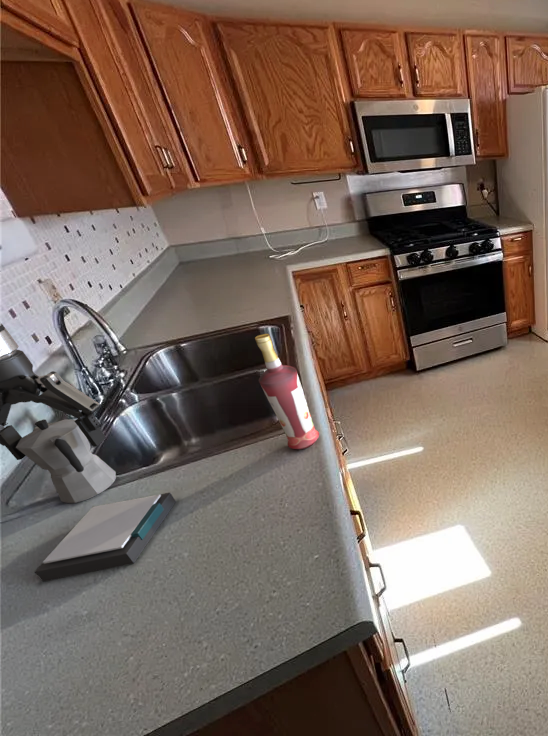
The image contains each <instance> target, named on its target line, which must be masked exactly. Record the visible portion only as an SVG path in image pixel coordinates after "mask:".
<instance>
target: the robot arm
mask: <svg viewBox="0 0 548 736" xmlns="http://www.w3.org/2000/svg"><path fill="white" fill-rule="evenodd" d="M18 348H19V345H18V343H17V342H16V340H15V339H14V338H13V336H12V335H11V334H10V332H9V330H7V327H5V325H4V324H3V323H2V322H1V321H0V445H1V446H2V447H5V448H6V449H7V450H8V452H9V453H10V454H11V455H12V456H13V457H14V458H15V460H16V461H21V460H23V459H24V458H26V457H27V456H26V455H25V454H23V453H22V452H21V451H20V450H18V449H17V448H16V446H17V444H18V443H19V441H20V439H21V438H22V437H23V436H21V434H20V433H19V432H18V431H17V429H16V428H15V427H14V426H13V425H12V424H10V425H8V424H9V422H7V421H8V417H9V414H10V411H11V408H12V405H16V404H17V405H18V404H19V403H30V402H32V403H36V404H43V405H45V406H47V407H50V408H52V409H55V410H57V411H59V412H62V413H64V414H67V415H69V416H71V417H74V418H75V419H74V420H75V423H76V424H77V425H78V427H79V428H80V430H81V431H82V432H83V434H84V435H85V436H86V438H87V439H88V442H89V444H90V445H91V446H92V447H93V448H95V447H99V445H101V444H102V443H103V442H104V441H105V440H106V439H107V437H106V435H105V433H104V432H103V430H102V429H101V428H100V426H101V423H100V422H99V420H98V419H97V417H96V416H95V415H94V413H95V412H97V411H98V410H99V409H100V408H101V407H102V404H100V403H99V402H97V401H96V400H94V399H93V398H91V397H90V396H89V395H87V394H86V393H84V392H82V391H81V390H79V389H78V388H76V387H75V386H73V385H71V384H70V383H68V382H67V381H65V380H64V379H63V378H62V376H61V375H60V374H59V373H58V372H57V371H54V370H51V371H49V372H48V373H47V374H44V375H37V373H35V372H34V369H33V367H34V365H33V363H32V362H31V360H30V359H29V358H28V356H27V354H26V353H25V352H24V351H23V350H21V349H18Z"/></svg>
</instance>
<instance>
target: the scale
mask: <svg viewBox="0 0 548 736" xmlns="http://www.w3.org/2000/svg"><path fill="white" fill-rule="evenodd" d="M176 502H177V501H176V499H175V498H174V496H173V494H172V493H171V492H165V493H160V494H155V495H149V496H144V497H138V498H133V499H128V500H121V501H115V502H110V503H106V504H105V503H104V504H100V505H96V506H94V505H93V506H92V507H90V509H89V510H88V511H87V512H86V513H85V514H84V516H83V517H82V518H81V519H80V520H79V521H78V522H77V523H76V525H75V526H74V527H72V529H71V530H70V531H69V532H68V533H67V534H66V535H65V537H64V538H62V540H61V541H60V542H59V543H58V544H57V546H55V548H54V549H53V550H52V551H51V552H50V553H49V554H48V555H47V557H45V558H44V560H43V561H42V562H41V564H40V565H39V566H38V567H37V568H36V569H35V570H34V571H33V572H34V574H35V575H36V576H37V577H38V578H39V579H40V580H41V581H42V582H48V581H52V580H58V579H63V578H68V577H72V576H79V575H82V574H88V573H93V572H97V571H102V570H107V569H113V568H118V567H122V566H127V565H133V564H135V563H136V561H137V559H138V558H139V557H140V555H141V554H142V552H143V551H144V550H145V548H146V547H147V545H148V543H150V541H151V539H152V538H153V536H154V535H155V533H156V532H157V530H158V529H159V527H160V526H161V524H162V523H163V522H164V520H165V519H166V517H167V516H168V514H169V513H170V511H171V510H172V509H173V507H174V506H175V504H176Z"/></svg>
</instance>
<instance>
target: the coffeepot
mask: <svg viewBox="0 0 548 736" xmlns="http://www.w3.org/2000/svg"><path fill="white" fill-rule="evenodd" d="M75 420H76V419H67V418H65V419H62V420H59V421H55V422H47V419H39V420H38V421H36V422H34V426H36V427H34V428H33V429H32V431H31V432H30V433H28V434H26V435H24V436H21V437H22V438H21V439H20V441H19V443H18V444H17V446H16V448H17V449H18V450H20V451H21V452H22V453H23V454H25V455H26V456H25V457H27V458H28V459H29V460H31V461H32V463H34V464H35V465H37V466H38V467H39V468H41V469H42V470H44V471H48V472H49V473H50V479H51V481H52V484H53V485H54V486H53V487H54V489H55V491H56V492H57V496H58V497H59V499H60V502H61V503H67V504H75V503H81V502H84V501H86V500H90V499H93V498H94V497H95V496H98V495H100V494H101V493H103V492H104V491H106V490H107V489H108V488H109V487H111V486H112V485H113V484H114V482H115V481H116V478H117V474H116V473H117V472H116V470H114V469H113V468H112V467H111V466H110V465H108V464H107V463H106V462H105V461H104V460H103V459H101V458H100V456H98V455H97V454H94V453H92V451H91V446H92V445H91V443H90V442H89V440H88V439H87V438H86V436H85V435H84V434H83V432H82V431H81V430H80V428H79V427H78V425H77V424H76V423H75Z"/></svg>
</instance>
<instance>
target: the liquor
mask: <svg viewBox="0 0 548 736" xmlns="http://www.w3.org/2000/svg"><path fill="white" fill-rule="evenodd" d="M254 339H255V340H254V341H255V342H256V345H257V347H258V348H259V350H260V351H261V354H262V358H263V359H264V364H265V366H266V370H265V371H264V372H263V373H262V374H261V375H260V376H259V378H258V383H259V385H260V386H261V388H262V390H263V392H264V395H265V397H266V399H267V401H268V403H269V405H270V407H271V408H272V411H273V412H274V413H275V416H276V418H277V420H278V422H279V424H280V427H281V428H282V430H283V432H284V435H285V437H286V439H287V446H288V448H289V449H293V450H306V449H308V448H310V447H312V446H313V445H314V444H315V443H316V441H317V440H318V439H319V437H320V432H319V431H318V430H317V429H316V427H315V425H314V422H313V419H312V415H311V412H310V410H309V407H308V403H307V400H306V396H305V393H304V389H303V386H302V384H301V380H300V377H299V375H298V371H297V368H296V367H295V366H291V365H286V364H282V362H281V360H280V358H279V356H278V354H277V352H276V351H275V348H274V344H273V341H272V340H273V339H272V338H271V336H270V333H262V334H258V335H257V336H255V337H254Z"/></svg>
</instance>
